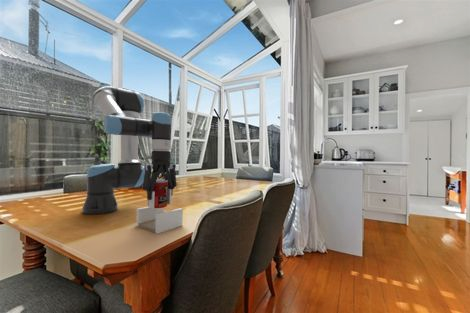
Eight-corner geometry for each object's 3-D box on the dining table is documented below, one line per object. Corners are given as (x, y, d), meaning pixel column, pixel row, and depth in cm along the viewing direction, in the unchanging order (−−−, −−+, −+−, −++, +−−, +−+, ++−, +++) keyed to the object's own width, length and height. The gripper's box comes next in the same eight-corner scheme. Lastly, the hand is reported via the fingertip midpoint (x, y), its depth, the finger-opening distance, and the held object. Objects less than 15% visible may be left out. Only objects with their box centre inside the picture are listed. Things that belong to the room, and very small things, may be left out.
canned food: (161, 209, 87) (161, 181, 87) (143, 207, 89) (144, 180, 89) (171, 204, 94) (171, 179, 94) (154, 203, 96) (155, 178, 96)
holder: (136, 225, 90) (136, 208, 90) (161, 219, 100) (161, 203, 100) (157, 233, 82) (158, 214, 82) (182, 225, 92) (182, 208, 92)
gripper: (144, 149, 80) (142, 212, 80) (186, 151, 97) (185, 202, 97) (132, 149, 84) (131, 209, 84) (174, 151, 101) (173, 200, 101)
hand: (160, 205), depth 91 cm, fingers closed on canned food, 8 cm apart
